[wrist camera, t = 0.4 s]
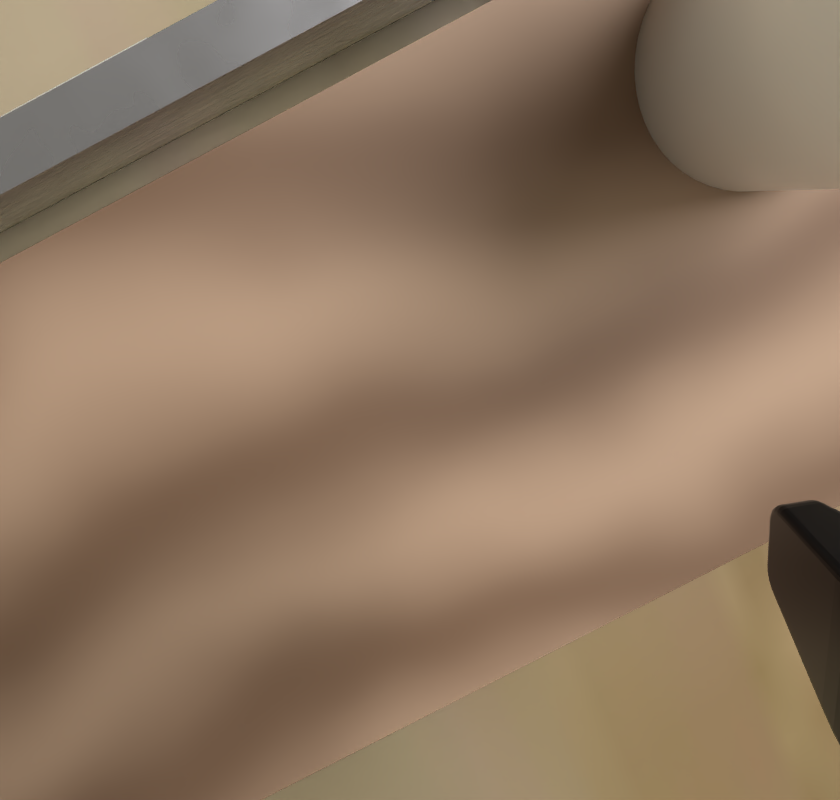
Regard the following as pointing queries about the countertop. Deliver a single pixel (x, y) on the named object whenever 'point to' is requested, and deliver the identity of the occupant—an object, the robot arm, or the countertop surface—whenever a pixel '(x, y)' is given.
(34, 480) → the shelf board
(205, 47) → the price rail
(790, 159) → the bottle
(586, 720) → the countertop surface
